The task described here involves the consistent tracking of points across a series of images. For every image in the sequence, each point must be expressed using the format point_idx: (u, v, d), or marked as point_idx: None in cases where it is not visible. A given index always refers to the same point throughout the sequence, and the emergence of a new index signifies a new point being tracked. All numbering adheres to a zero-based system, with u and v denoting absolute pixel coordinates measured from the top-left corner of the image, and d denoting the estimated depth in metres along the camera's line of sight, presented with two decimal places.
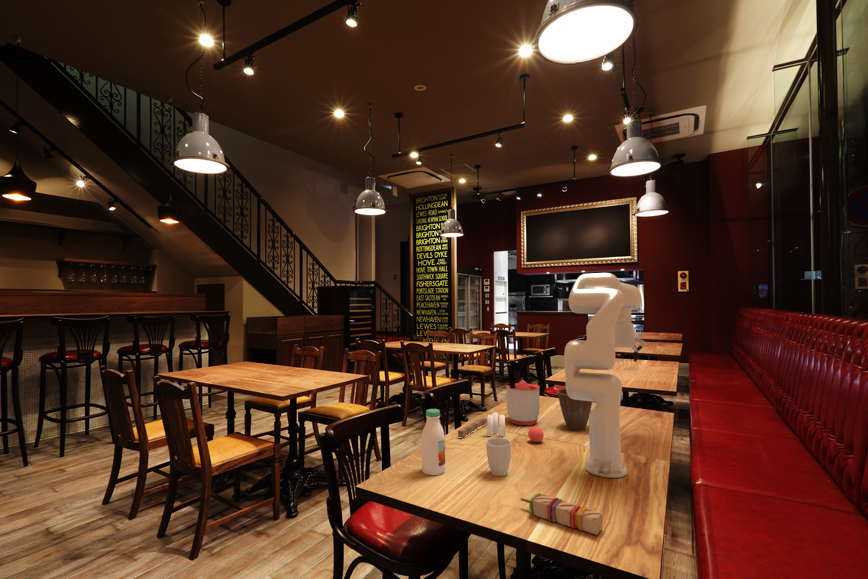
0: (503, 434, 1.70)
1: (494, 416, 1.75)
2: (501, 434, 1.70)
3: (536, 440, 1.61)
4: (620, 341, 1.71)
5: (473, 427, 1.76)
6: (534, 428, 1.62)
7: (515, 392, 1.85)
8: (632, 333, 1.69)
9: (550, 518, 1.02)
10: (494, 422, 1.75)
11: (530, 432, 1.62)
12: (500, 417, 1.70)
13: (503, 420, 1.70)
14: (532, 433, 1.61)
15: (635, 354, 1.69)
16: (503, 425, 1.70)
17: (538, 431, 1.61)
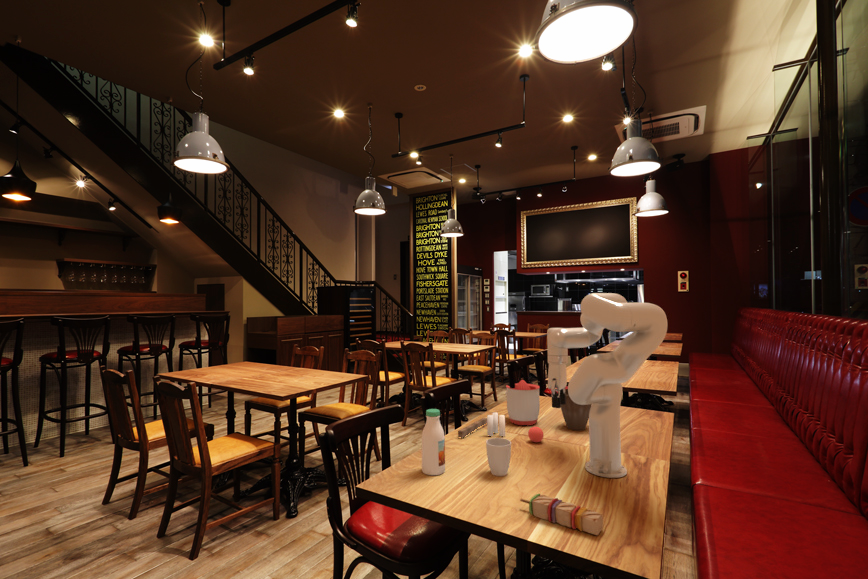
0: (503, 434, 1.70)
1: (494, 416, 1.75)
2: (501, 434, 1.70)
3: (536, 440, 1.61)
4: None
5: (473, 427, 1.76)
6: (534, 428, 1.62)
7: (515, 392, 1.85)
8: (548, 374, 1.57)
9: (550, 519, 1.02)
10: (494, 422, 1.75)
11: (530, 432, 1.62)
12: (500, 417, 1.70)
13: (503, 420, 1.70)
14: (532, 433, 1.61)
15: (552, 399, 1.56)
16: (503, 425, 1.70)
17: (538, 431, 1.61)
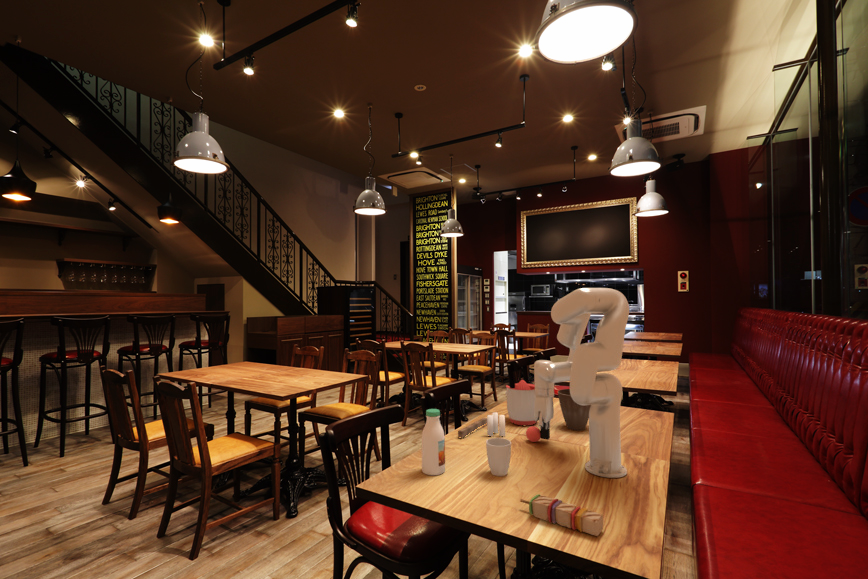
0: (503, 434, 1.70)
1: (494, 416, 1.75)
2: (501, 434, 1.70)
3: (534, 439, 1.61)
4: None
5: (473, 427, 1.76)
6: (531, 428, 1.63)
7: (515, 392, 1.85)
8: None
9: (550, 519, 1.01)
10: (494, 422, 1.75)
11: (527, 432, 1.63)
12: (500, 417, 1.70)
13: (503, 420, 1.70)
14: (530, 433, 1.62)
15: (541, 430, 1.62)
16: (503, 425, 1.70)
17: (535, 430, 1.62)
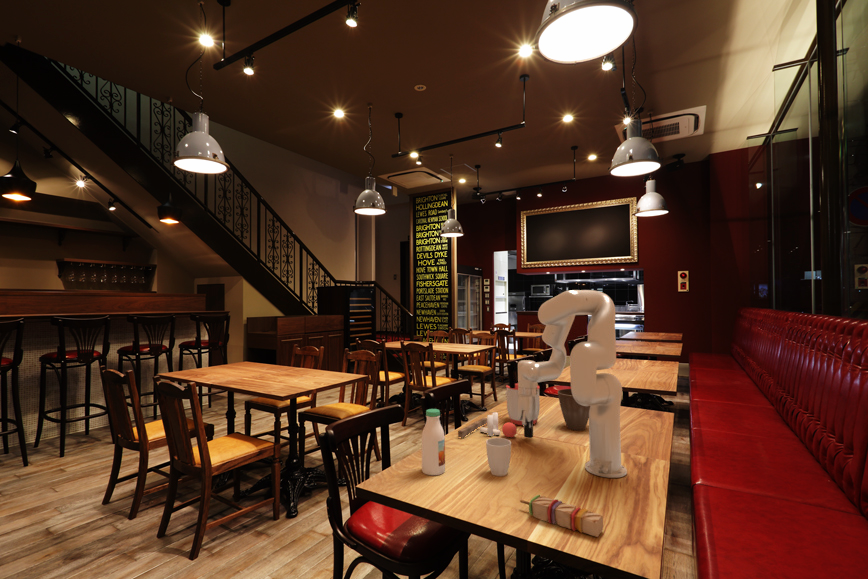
0: (496, 431, 1.72)
1: (494, 416, 1.75)
2: (495, 433, 1.71)
3: (504, 427, 1.69)
4: None
5: (473, 427, 1.76)
6: None
7: (515, 392, 1.85)
8: (518, 406, 1.63)
9: (550, 520, 1.01)
10: (494, 422, 1.75)
11: (510, 433, 1.67)
12: (480, 431, 1.75)
13: (483, 428, 1.75)
14: (507, 433, 1.67)
15: (524, 429, 1.65)
16: None
17: (505, 435, 1.69)
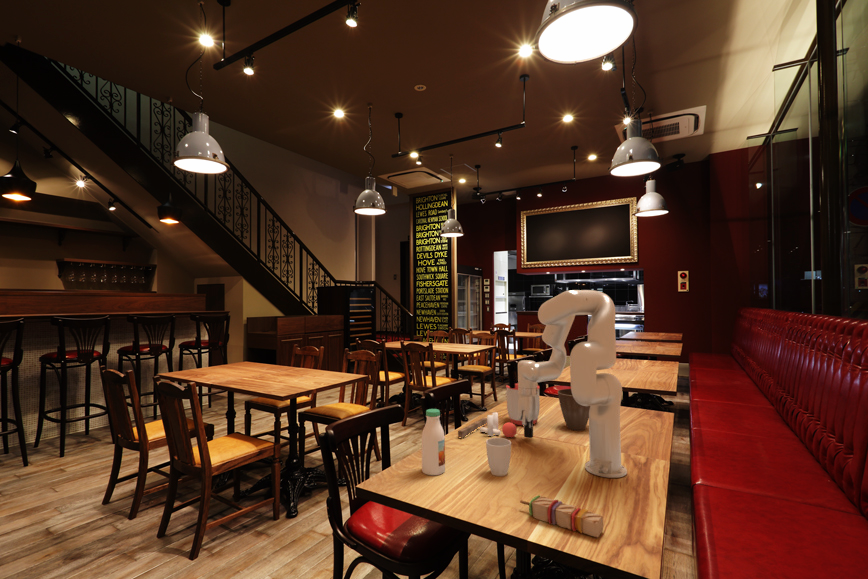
0: (496, 430, 1.72)
1: (494, 416, 1.75)
2: (496, 432, 1.71)
3: (504, 427, 1.69)
4: None
5: (473, 427, 1.76)
6: None
7: (515, 392, 1.85)
8: (518, 406, 1.63)
9: (550, 521, 1.01)
10: (494, 422, 1.75)
11: (510, 433, 1.67)
12: (481, 430, 1.75)
13: (484, 428, 1.75)
14: (507, 433, 1.67)
15: (524, 429, 1.65)
16: None
17: (505, 435, 1.69)
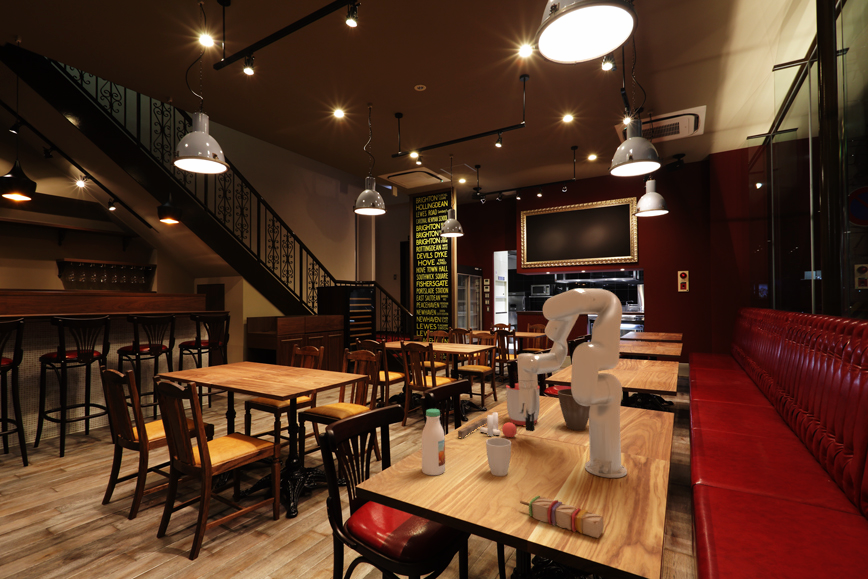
0: (496, 431, 1.72)
1: (494, 416, 1.75)
2: (495, 433, 1.71)
3: (504, 427, 1.69)
4: None
5: (473, 427, 1.76)
6: None
7: (515, 392, 1.85)
8: None
9: (550, 521, 1.01)
10: (494, 422, 1.75)
11: (510, 433, 1.67)
12: (481, 431, 1.75)
13: (483, 428, 1.75)
14: (507, 433, 1.67)
15: (526, 423, 1.64)
16: None
17: (505, 435, 1.69)
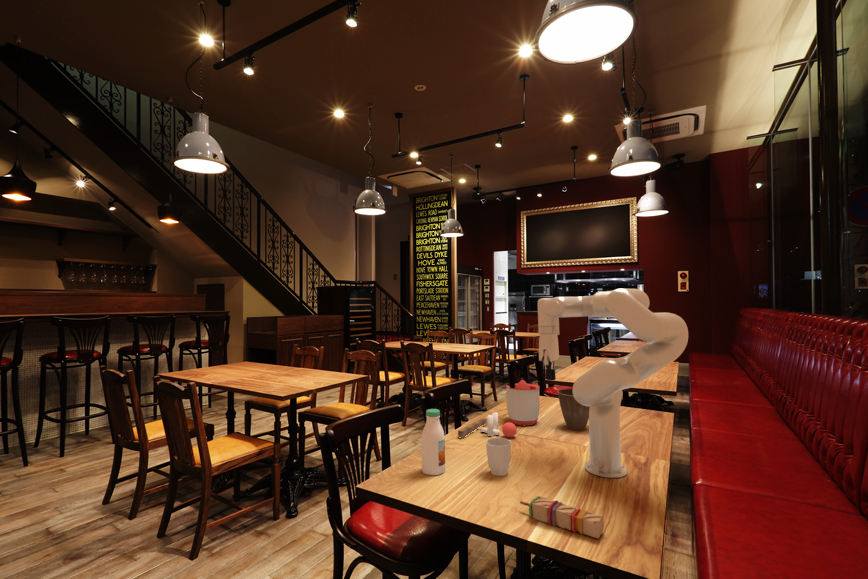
0: (496, 430, 1.72)
1: (494, 416, 1.75)
2: (496, 432, 1.71)
3: (504, 427, 1.69)
4: None
5: (473, 427, 1.76)
6: None
7: (515, 392, 1.85)
8: (539, 345, 1.51)
9: (550, 521, 1.00)
10: (494, 422, 1.75)
11: (510, 433, 1.67)
12: (481, 431, 1.75)
13: (484, 428, 1.75)
14: (507, 433, 1.67)
15: (546, 371, 1.53)
16: None
17: (505, 435, 1.69)
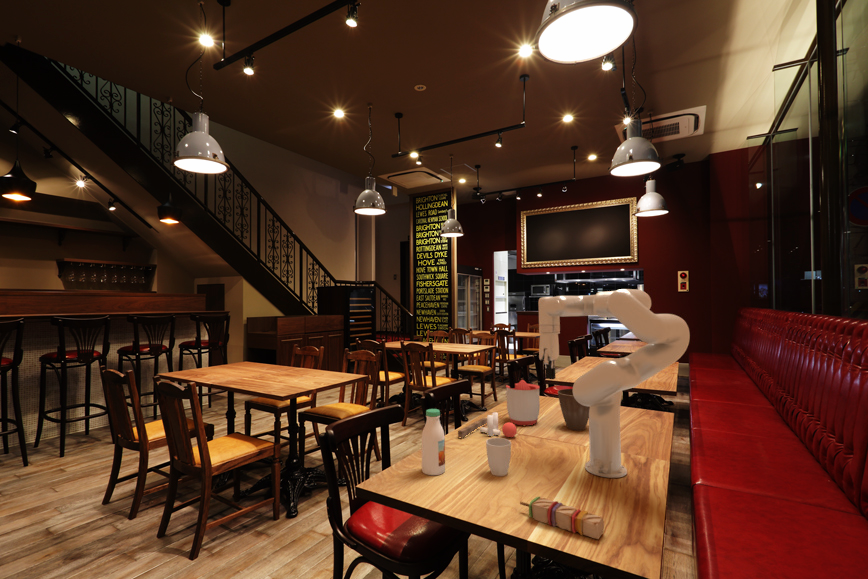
0: (496, 431, 1.72)
1: (494, 416, 1.75)
2: (495, 433, 1.71)
3: (504, 427, 1.69)
4: None
5: (473, 427, 1.76)
6: None
7: (515, 392, 1.85)
8: (539, 344, 1.51)
9: (550, 522, 1.00)
10: (494, 422, 1.75)
11: (510, 433, 1.67)
12: (481, 431, 1.75)
13: (483, 428, 1.75)
14: (507, 433, 1.67)
15: (546, 370, 1.53)
16: None
17: (505, 435, 1.69)
